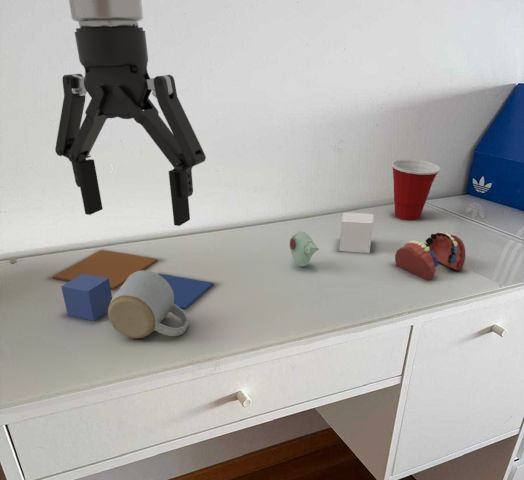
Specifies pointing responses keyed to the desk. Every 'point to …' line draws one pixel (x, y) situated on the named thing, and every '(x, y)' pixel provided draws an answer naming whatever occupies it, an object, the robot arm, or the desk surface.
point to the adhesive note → (356, 232)
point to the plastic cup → (412, 186)
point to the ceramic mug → (145, 306)
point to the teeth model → (431, 255)
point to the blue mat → (186, 289)
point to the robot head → (302, 248)
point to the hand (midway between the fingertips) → (136, 217)
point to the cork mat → (107, 267)
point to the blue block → (87, 296)
